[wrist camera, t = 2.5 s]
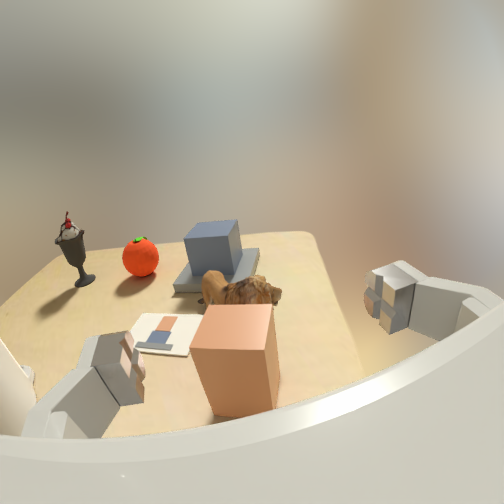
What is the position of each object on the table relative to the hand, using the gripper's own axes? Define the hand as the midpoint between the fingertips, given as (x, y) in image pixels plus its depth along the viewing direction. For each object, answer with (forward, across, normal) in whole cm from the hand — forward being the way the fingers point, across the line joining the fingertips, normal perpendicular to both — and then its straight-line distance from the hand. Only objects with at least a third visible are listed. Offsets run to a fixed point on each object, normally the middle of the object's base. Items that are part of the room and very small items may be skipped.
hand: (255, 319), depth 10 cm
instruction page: (+24, +9, +17) cm, 31 cm away
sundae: (+47, +27, +17) cm, 57 cm away
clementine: (+44, +13, +17) cm, 49 cm away
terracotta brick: (+11, 0, +18) cm, 21 cm away
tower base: (+38, -1, +17) cm, 42 cm away
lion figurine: (+22, -1, +18) cm, 28 cm away
